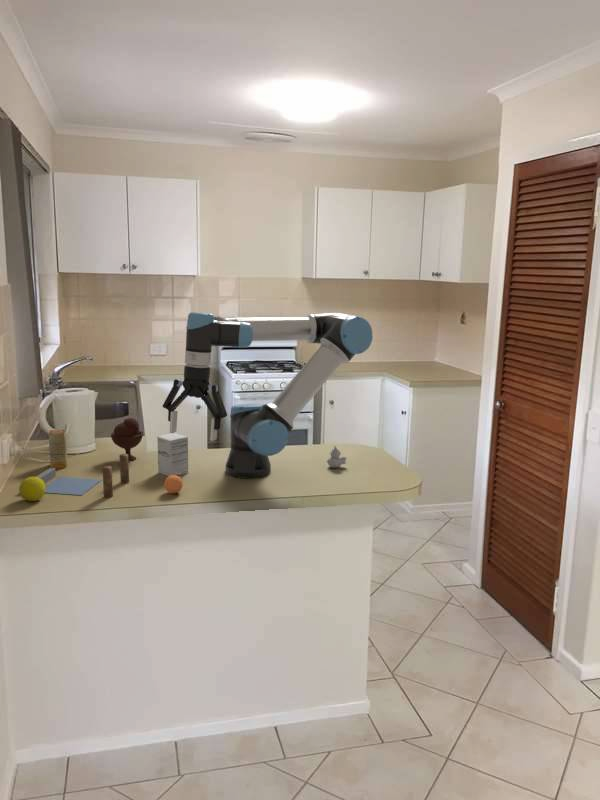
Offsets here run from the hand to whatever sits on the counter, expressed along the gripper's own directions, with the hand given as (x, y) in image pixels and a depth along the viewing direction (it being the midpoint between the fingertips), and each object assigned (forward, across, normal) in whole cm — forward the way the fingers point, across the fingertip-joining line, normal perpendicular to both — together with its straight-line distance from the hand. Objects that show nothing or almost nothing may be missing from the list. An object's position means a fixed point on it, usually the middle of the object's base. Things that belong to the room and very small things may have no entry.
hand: (192, 436), depth 194 cm
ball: (+16, -5, -1) cm, 16 cm away
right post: (+19, -24, +1) cm, 31 cm away
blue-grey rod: (+21, -46, -10) cm, 52 cm away
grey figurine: (+14, +34, +42) cm, 56 cm away
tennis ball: (+22, -39, -22) cm, 50 cm away
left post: (+20, -21, -11) cm, 31 cm away
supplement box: (+18, -14, +15) cm, 28 cm away
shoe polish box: (+21, -53, +6) cm, 58 cm away
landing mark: (+21, -37, -8) cm, 43 cm away
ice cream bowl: (+19, -36, +22) cm, 46 cm away
